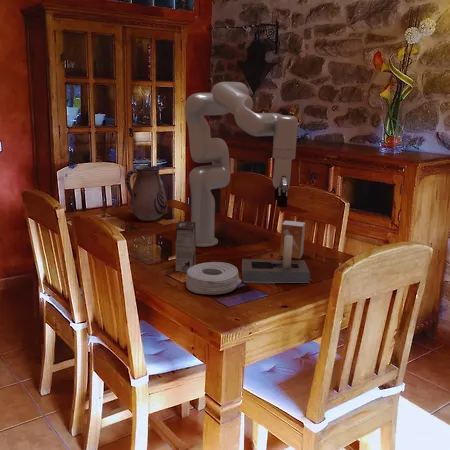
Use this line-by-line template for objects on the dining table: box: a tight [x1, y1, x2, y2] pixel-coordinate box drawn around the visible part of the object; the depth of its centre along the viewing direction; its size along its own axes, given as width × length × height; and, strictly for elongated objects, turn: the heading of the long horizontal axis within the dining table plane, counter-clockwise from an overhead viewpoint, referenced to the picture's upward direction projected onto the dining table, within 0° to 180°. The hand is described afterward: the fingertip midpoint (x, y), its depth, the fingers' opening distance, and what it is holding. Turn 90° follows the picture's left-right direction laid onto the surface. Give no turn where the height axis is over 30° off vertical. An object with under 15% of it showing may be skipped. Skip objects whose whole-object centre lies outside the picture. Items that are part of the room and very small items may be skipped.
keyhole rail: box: [241, 258, 311, 284], centre depth 181 cm, size 22×12×4 cm, turn 91°
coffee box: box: [175, 220, 196, 274], centre depth 186 cm, size 9×6×16 cm
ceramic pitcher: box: [125, 164, 168, 222], centre depth 248 cm, size 18×21×25 cm
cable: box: [185, 261, 243, 296], centre depth 172 cm, size 18×18×6 cm
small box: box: [279, 220, 306, 260], centre depth 203 cm, size 8×6×13 cm
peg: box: [282, 235, 293, 268], centre depth 180 cm, size 6×6×14 cm
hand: (280, 203), depth 181 cm, fingers open, 9 cm apart
